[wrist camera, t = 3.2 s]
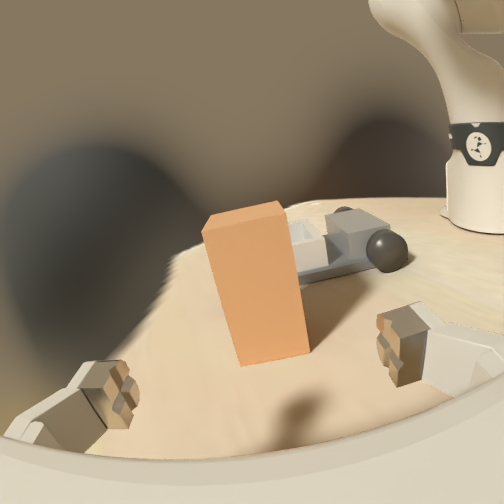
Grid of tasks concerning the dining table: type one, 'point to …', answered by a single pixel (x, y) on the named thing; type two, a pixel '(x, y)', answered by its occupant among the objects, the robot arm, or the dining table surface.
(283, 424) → the dining table surface
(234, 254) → the block
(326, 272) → the chassis
